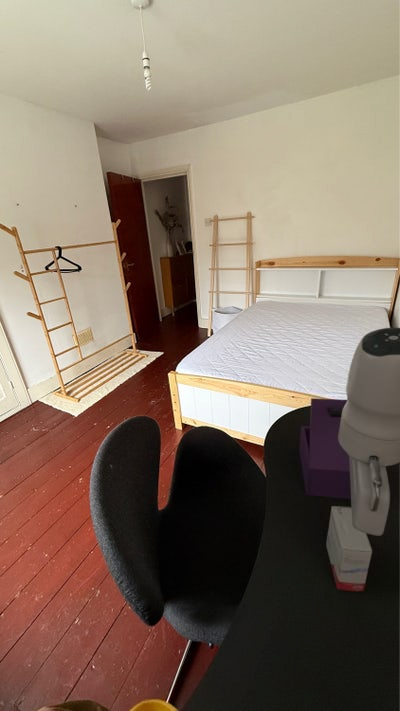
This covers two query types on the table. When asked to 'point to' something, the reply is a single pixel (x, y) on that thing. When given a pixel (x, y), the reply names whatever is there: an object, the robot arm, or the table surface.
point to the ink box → (347, 550)
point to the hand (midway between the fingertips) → (357, 499)
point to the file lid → (327, 435)
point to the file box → (322, 474)
